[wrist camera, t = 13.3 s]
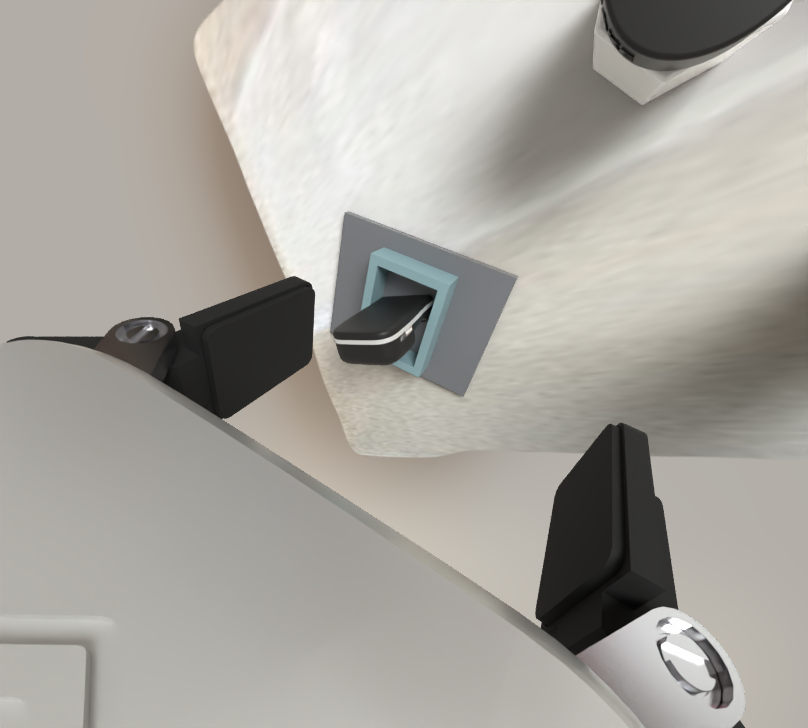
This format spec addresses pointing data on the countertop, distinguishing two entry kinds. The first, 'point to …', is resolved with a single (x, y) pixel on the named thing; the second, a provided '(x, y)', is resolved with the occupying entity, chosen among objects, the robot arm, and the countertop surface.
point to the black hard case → (382, 330)
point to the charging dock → (421, 275)
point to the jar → (673, 39)
